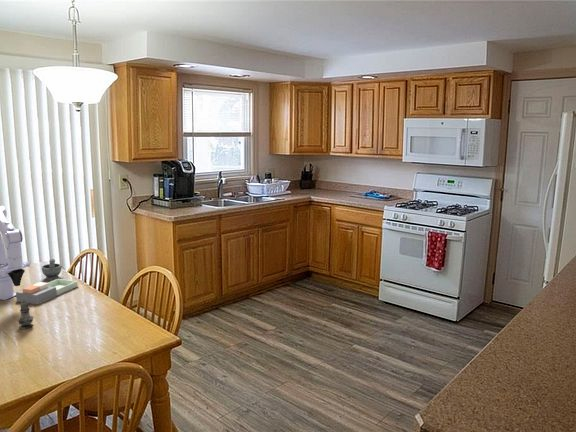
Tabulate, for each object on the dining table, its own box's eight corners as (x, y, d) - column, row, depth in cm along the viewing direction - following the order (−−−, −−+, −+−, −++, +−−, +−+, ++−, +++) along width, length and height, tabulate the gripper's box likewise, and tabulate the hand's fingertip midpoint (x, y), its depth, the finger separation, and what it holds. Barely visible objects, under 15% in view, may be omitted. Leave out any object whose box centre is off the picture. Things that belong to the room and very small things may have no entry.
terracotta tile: (22, 292, 222) (22, 288, 222) (31, 289, 227) (30, 285, 226) (31, 294, 220) (30, 289, 220) (39, 290, 225) (39, 286, 225)
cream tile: (32, 289, 227) (31, 285, 227) (40, 285, 232) (39, 281, 231) (40, 290, 226) (40, 286, 225) (48, 287, 230) (48, 283, 230)
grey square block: (16, 301, 223) (15, 292, 222) (36, 293, 235) (36, 284, 234) (37, 304, 220) (36, 295, 219) (56, 296, 231) (55, 287, 230)
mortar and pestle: (41, 277, 259) (39, 255, 257) (60, 274, 264) (58, 253, 262) (44, 282, 250) (42, 260, 248) (63, 280, 255) (62, 258, 253)
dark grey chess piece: (27, 330, 192) (24, 302, 190) (14, 328, 194) (12, 301, 191) (37, 324, 198) (35, 297, 196) (25, 323, 199) (22, 296, 197)
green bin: (37, 292, 235) (37, 287, 234) (58, 284, 248) (58, 278, 248) (57, 295, 232) (56, 289, 231) (77, 286, 245) (77, 281, 244)
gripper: (7, 261, 205) (10, 291, 208) (34, 253, 219) (36, 281, 221) (-5, 260, 207) (-2, 289, 210) (22, 252, 221) (24, 280, 223)
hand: (17, 285), depth 215 cm, fingers closed
